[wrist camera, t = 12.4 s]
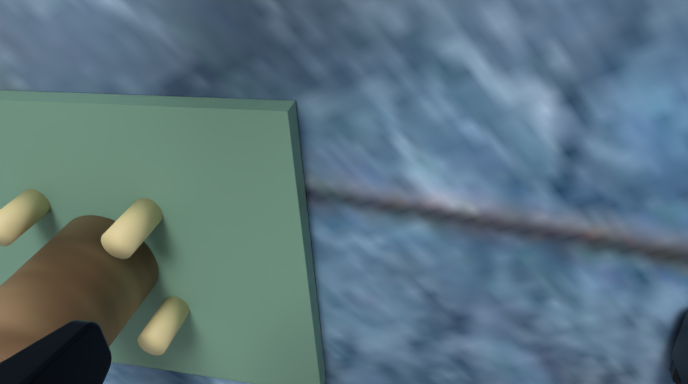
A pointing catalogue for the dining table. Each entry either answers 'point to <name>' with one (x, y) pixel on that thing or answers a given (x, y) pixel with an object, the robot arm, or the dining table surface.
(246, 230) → the standoff plate
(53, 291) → the walnut cylinder
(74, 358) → the robot arm
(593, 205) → the dining table surface
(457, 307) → the dining table surface
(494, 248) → the dining table surface
